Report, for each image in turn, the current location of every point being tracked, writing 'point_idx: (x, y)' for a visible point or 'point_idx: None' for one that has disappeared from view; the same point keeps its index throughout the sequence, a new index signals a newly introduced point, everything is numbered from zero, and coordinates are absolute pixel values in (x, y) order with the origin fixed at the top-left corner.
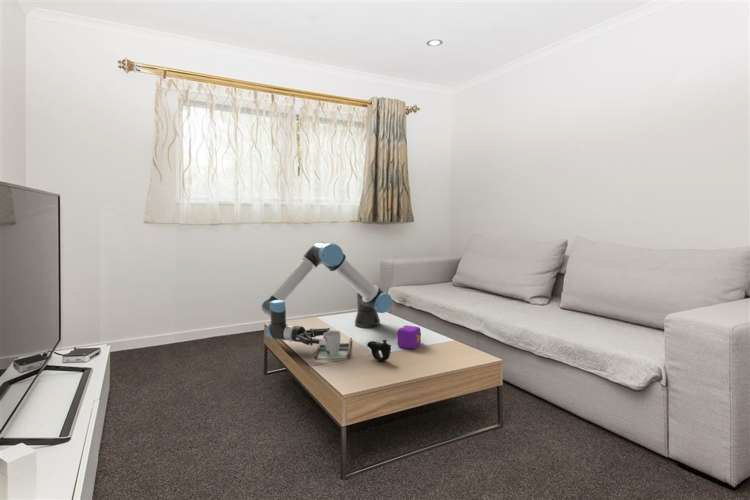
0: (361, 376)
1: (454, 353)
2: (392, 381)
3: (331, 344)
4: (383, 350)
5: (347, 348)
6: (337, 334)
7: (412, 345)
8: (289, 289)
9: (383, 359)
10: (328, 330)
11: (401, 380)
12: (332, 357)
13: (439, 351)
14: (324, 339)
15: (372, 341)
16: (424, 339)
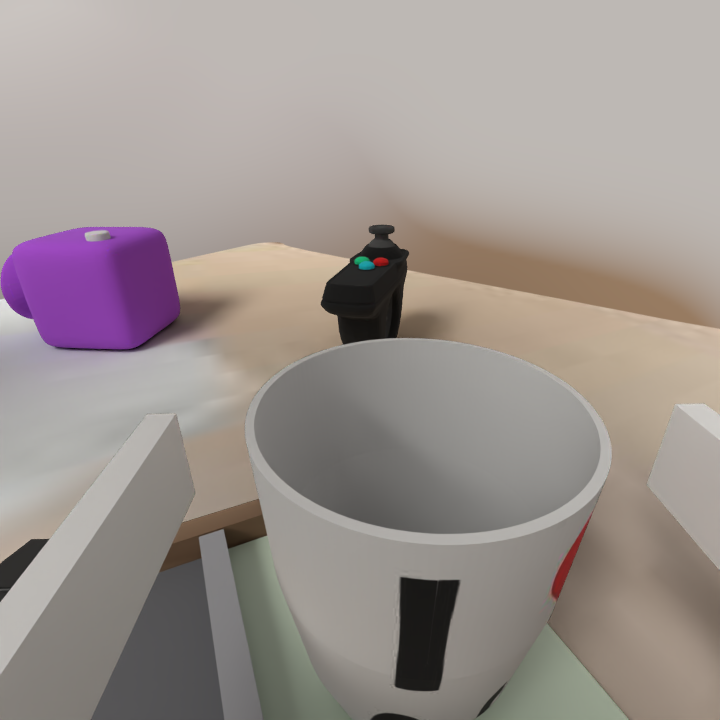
0: (603, 352)
1: (220, 269)
2: (544, 299)
3: (518, 486)
4: (405, 273)
5: (224, 535)
6: (277, 430)
7: (178, 299)
8: None
9: (399, 322)
10: (11, 667)
11: (516, 291)
12: None
13: (201, 284)
14: (714, 416)
15: (335, 281)
16: (14, 320)
